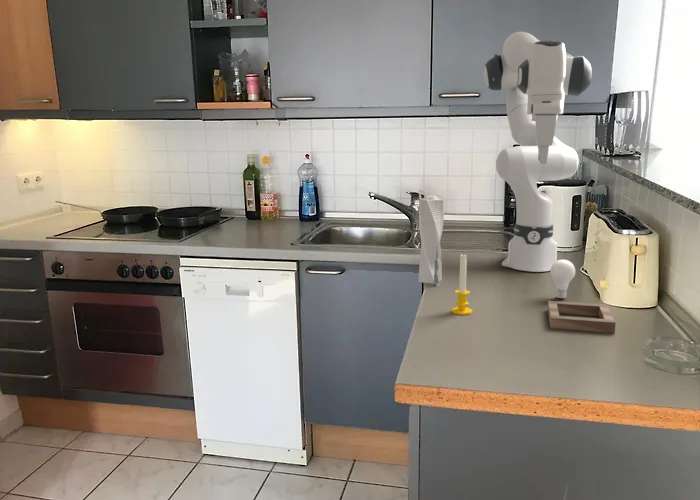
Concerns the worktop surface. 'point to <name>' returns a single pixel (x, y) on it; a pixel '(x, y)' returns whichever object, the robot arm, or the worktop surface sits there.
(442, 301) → the worktop surface
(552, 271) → the lightbulb
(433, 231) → the skyscraper
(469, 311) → the candle
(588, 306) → the rectangular wooden frame
